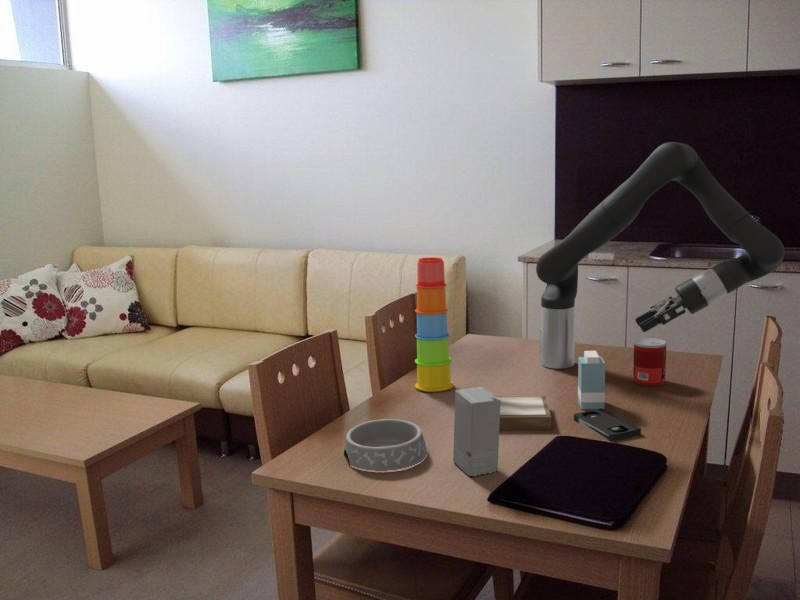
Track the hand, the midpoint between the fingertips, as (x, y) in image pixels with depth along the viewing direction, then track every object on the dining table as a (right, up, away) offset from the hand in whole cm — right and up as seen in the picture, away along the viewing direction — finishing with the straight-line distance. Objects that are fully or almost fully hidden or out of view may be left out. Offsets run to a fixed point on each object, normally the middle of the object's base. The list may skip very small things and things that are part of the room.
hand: (638, 325), depth 183 cm
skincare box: (-42, -28, -28) cm, 57 cm away
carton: (-11, -19, +3) cm, 22 cm away
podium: (-29, -22, -3) cm, 37 cm away
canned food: (+8, -16, +18) cm, 25 cm away
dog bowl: (-60, -27, -20) cm, 69 cm away
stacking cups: (-48, -17, +22) cm, 55 cm away
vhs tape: (-11, -23, -10) cm, 28 cm away
